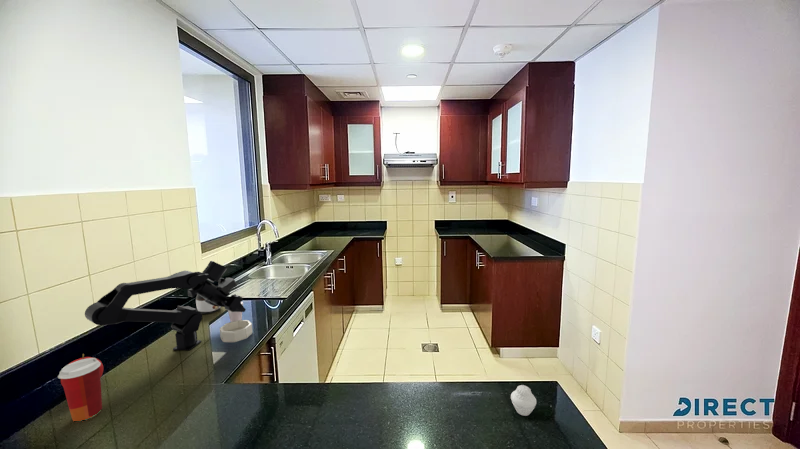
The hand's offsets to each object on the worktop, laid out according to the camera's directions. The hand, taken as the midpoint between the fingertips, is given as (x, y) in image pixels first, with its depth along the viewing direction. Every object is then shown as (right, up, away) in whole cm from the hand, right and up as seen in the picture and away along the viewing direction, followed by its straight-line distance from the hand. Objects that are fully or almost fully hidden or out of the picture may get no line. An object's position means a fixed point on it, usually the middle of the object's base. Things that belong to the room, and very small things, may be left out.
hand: (238, 308), depth 134 cm
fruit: (-26, -13, -39) cm, 49 cm away
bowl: (+4, -8, -9) cm, 13 cm away
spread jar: (-23, -5, +18) cm, 29 cm away
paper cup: (-13, -14, -51) cm, 55 cm away
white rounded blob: (+101, -13, -53) cm, 114 cm away
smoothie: (-1, -7, 0) cm, 7 cm away
